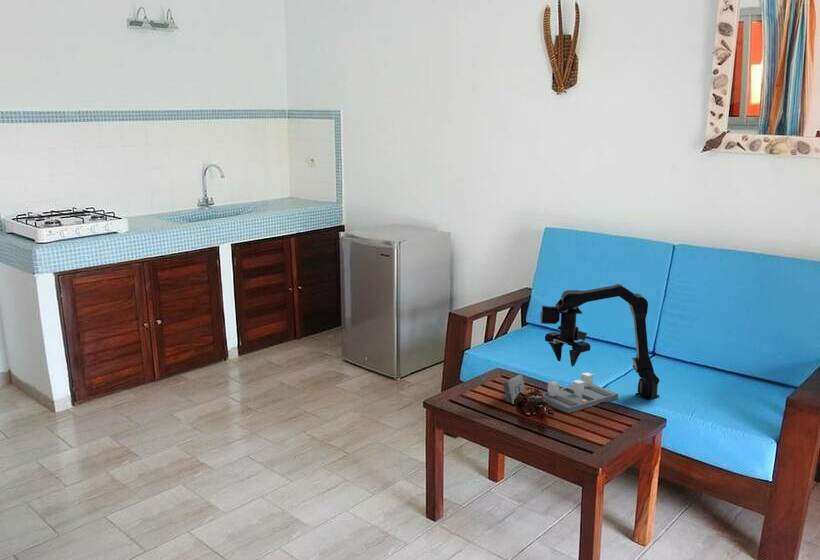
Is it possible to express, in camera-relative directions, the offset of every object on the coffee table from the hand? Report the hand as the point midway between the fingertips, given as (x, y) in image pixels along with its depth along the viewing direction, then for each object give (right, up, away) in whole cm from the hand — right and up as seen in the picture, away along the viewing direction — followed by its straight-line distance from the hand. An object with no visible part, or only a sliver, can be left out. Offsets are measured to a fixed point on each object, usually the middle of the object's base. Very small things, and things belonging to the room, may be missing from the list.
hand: (565, 363), depth 273 cm
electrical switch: (-20, -14, -5) cm, 25 cm away
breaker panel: (+4, -13, -3) cm, 14 cm away
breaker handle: (+4, -13, -3) cm, 14 cm away
